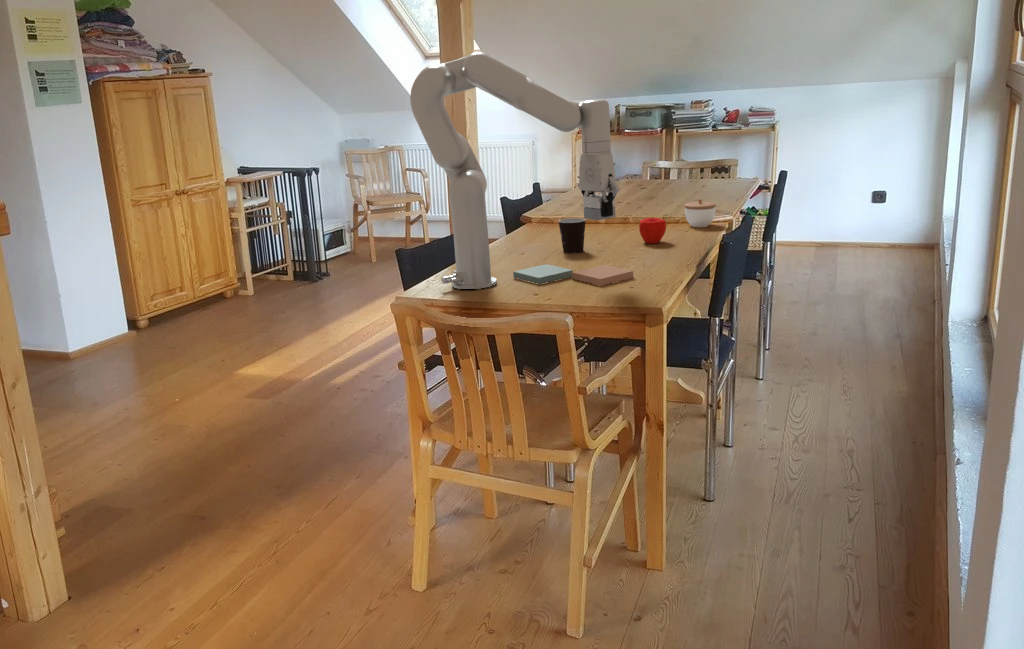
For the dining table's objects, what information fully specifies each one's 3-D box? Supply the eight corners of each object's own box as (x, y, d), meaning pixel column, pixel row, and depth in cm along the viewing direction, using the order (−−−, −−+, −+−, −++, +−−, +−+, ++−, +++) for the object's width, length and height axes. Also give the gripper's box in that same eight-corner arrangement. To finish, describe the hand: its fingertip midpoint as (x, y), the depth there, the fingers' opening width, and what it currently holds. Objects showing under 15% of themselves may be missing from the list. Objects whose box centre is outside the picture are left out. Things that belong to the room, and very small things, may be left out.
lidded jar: (719, 223, 307) (720, 197, 304) (709, 229, 298) (709, 202, 296) (691, 222, 313) (691, 196, 310) (680, 227, 304) (680, 201, 301)
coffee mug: (581, 254, 271) (580, 223, 268) (555, 253, 275) (554, 222, 272) (593, 247, 281) (592, 216, 278) (568, 246, 285) (567, 216, 282)
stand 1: (539, 285, 236) (538, 277, 236) (513, 278, 246) (513, 271, 245) (573, 277, 243) (572, 270, 242) (546, 270, 252) (546, 264, 252)
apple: (671, 242, 280) (671, 218, 278) (648, 246, 277) (647, 222, 275) (657, 238, 288) (657, 215, 286) (634, 242, 285) (633, 218, 283)
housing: (598, 220, 230) (597, 197, 228) (584, 218, 235) (583, 195, 233) (615, 216, 233) (614, 194, 232) (600, 214, 238) (599, 192, 236)
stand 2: (600, 286, 231) (600, 279, 230) (572, 279, 240) (571, 272, 240) (633, 278, 237) (633, 270, 237) (604, 271, 247) (604, 264, 246)
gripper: (565, 148, 233) (568, 214, 239) (607, 150, 220) (610, 220, 225) (586, 145, 238) (589, 210, 243) (629, 147, 224) (631, 215, 229)
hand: (599, 214), depth 234 cm, fingers closed on housing, 6 cm apart
